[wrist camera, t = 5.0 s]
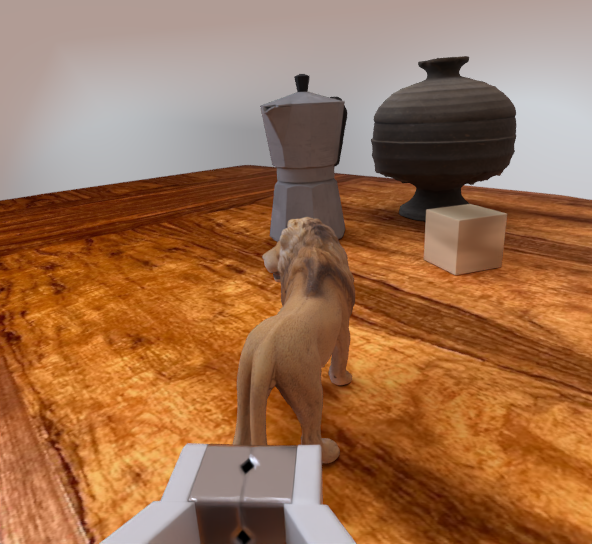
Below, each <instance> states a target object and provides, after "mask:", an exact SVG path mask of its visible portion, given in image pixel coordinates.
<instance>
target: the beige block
mask: <svg viewBox="0 0 592 544" xmlns="http://www.w3.org/2000/svg"><path fill="white" fill-rule="evenodd" d="M506 221H507V214H506V213H502V212H499V211H495V210H491V209H487V208H484V207H480V206H476V205H472V204H466V205H458V206H450V207H442V208H434V209H427V210H426V225H425V245H424V260H426V261H428V262H430V263H432V264H434V265H436V266H438V267H440V268H442V269H444V270H446V271H448V272H450V273H452V274H454V275H459V274H465V273H470V272H476V271H482V270H487V269H493V268H499V267H501V266H502V257H503V248H504V239H505V230H506Z"/></svg>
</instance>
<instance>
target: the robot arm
mask: <svg viewBox="0 0 592 544" xmlns="http://www.w3.org/2000/svg"><path fill="white" fill-rule="evenodd" d="M100 544H356V542H355V541H354V540H353V538H352V537H351V536H350V534H349V533H348V532H347V530H346V529H345V528H344V526H343V525H342V524H341V522H340V521H339V520H338V518H337V517H336V516H335V514H334V513H333V512H332V510H331V509H330V508H329V506H328V505H323V492H322V451H321V446H320V445H254V446H253V445H232V444H192V443H187V444H186V445H185V446H184V448H183V449H182V451H181V454H180V456H179V459H178V461H177V463H176V466H175V468H174V470H173V473H172V475H171V477H170V480H169V482H168V484H167V487H166V489H165V491H164V494H163V496H162V499H161V501H153V502H152V503H151V504H149V505H148V506H147V507H146V508H144V509H143V510H142V511H140V512H139V513H138V514H137V515H135V516H134V517H133V518H132V519H130V520H129V521H128V522H126V523H125V524H124V525H123V526H121V527H120V528H119V529H117V530H116V531H115V532H114V533H112V534H111V535H110V536H108V537H107V538H106V539H105V540H103V541H102V542H101V543H100Z"/></svg>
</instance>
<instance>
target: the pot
mask: <svg viewBox="0 0 592 544" xmlns="http://www.w3.org/2000/svg"><path fill="white" fill-rule="evenodd" d="M468 61H469V57H467V56H464V57H450V58H449V57H448V58H437V59H432V60H428V61H422V62H418V65H419V67H421V68H423V69H424V70H425V71H426V72H427V79H426V80H424V81H422V82H419V83H416V84H413V85H411V86H409V87H406V88H402V89H400V90H399V91H397V92H395V93H393V94H392V95H391V96H390V97H389V98H388V99H386V100H385V101H384V102H383V104H382V105H381V106H380V107H379V108H378V110H377V112H376V114H375V116H374V122H375V123H374V132H373V139H371V142H372V147H373V153H372V157H373V159H374V163H375V171H376V173H380V174H382V175H384V176H385V177H392V178H394V179H395V180H399V181H401V182H402V183H411V184H413V185H414V186H416V188H417V189H416V192H415V195H414V196H413V198H412V199H411V200H410V201H408V202H407V203H405V204H403V205H402V206H400V210H399V214H400V215H401V216H404V217H407V218H410V219H414V220H421V221H426V210H427V209H434V208H442V207H450V206H458V205H466V204H469V203H468V202H467V201H466V200H465V199H464V198H463V197H462V195H461V187H462V186H463V185H465V184H470V185H473V184H474V183H475V182H477V181H484V180H488V179H489V178H490V177H492V176H495V175H499V176H500V175H501V173H502V172H503V170H504V169H505V168H506V167H507V166H508V165H509V163H510V160H511V158H512V155H513V154H514V152H515V151H514V143H515V139H516V119H515V115H516V110H515V107H514V105H513V103H512V102H511V101H510V99H509V98H508V97H507V96H506V95H505V94H504V93H503V92H501V91H500V90H498V89H497V88H496V87H495V86H491V85H489V84H487V83H485V82H482V81H477V80H473V79H470V78H465V77H462V76H460V74H459V70H460V68H461V67H462V66H463V65H464V64H465V63H467V62H468Z"/></svg>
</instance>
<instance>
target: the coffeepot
mask: <svg viewBox="0 0 592 544" xmlns="http://www.w3.org/2000/svg"><path fill="white" fill-rule="evenodd" d="M295 82H296V86H297V91H298V92H297V93H294V94H291V95H289V96H286V97H283V98H281V99H278V100H275V101H272V102H269V103H267V104H264V105H261V106H260V107H261V112H262V117H263V122H264V127H265V131H266V136H267V141H268V146H269V151H270V156H271V160H272V165H273V166H276V167H277V180H278V182H277V183H276V185H275V190H274V200H273V210H272V219H271V229H270V236H271V237H272V238H273V239H274V240H275V241H277V242H278V241H280V236H281V235H282V231H283V230H284V229H286V228H288V226H287V225H288V221H289V220H291V219H301V218H304V217H309V218H313V219H320V221H321V222H322V223H323V224H325V225H327V226H329V227H331V228H332V229H333V231H334V232H335V235H336V236H337V237H338V240H339V239H340V238H342V237H343V235H344V231H345V224H344V219H343V213H342V207H341V202H340V196H339V191H338V185H337V181H336V180H335V179H334V167H335V166H336V165H338V164H339V161H340V155H341V149H342V144H343V136H344V130H345V125H346V119H347V110H346V108H345V106H344V101H342V99H341V98H339V97H330V98H329V97H325V96H321V95H317V94H314V93H310V92H307V91H308V83H309V76H308V75H305V74H299V75H297V76H295Z"/></svg>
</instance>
